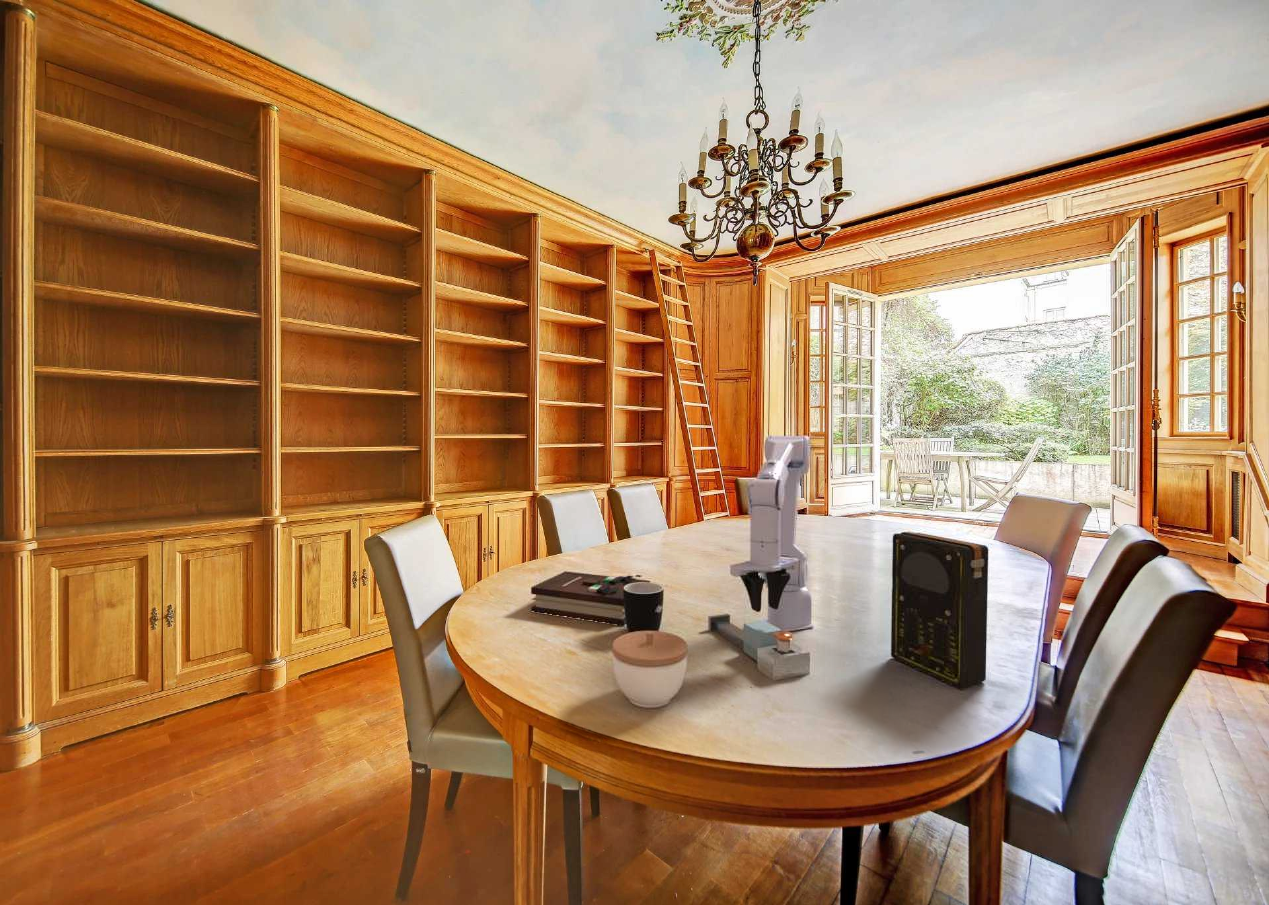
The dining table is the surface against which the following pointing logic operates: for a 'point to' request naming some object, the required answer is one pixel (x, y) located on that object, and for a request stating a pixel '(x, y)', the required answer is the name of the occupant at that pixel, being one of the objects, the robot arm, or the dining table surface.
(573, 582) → the decorative book
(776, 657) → the grey rectangular block
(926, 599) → the voltmeter
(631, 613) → the mug
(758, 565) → the robot arm
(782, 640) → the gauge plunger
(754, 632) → the carriage
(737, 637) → the rail
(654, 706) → the lidded bowl
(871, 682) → the dining table surface
